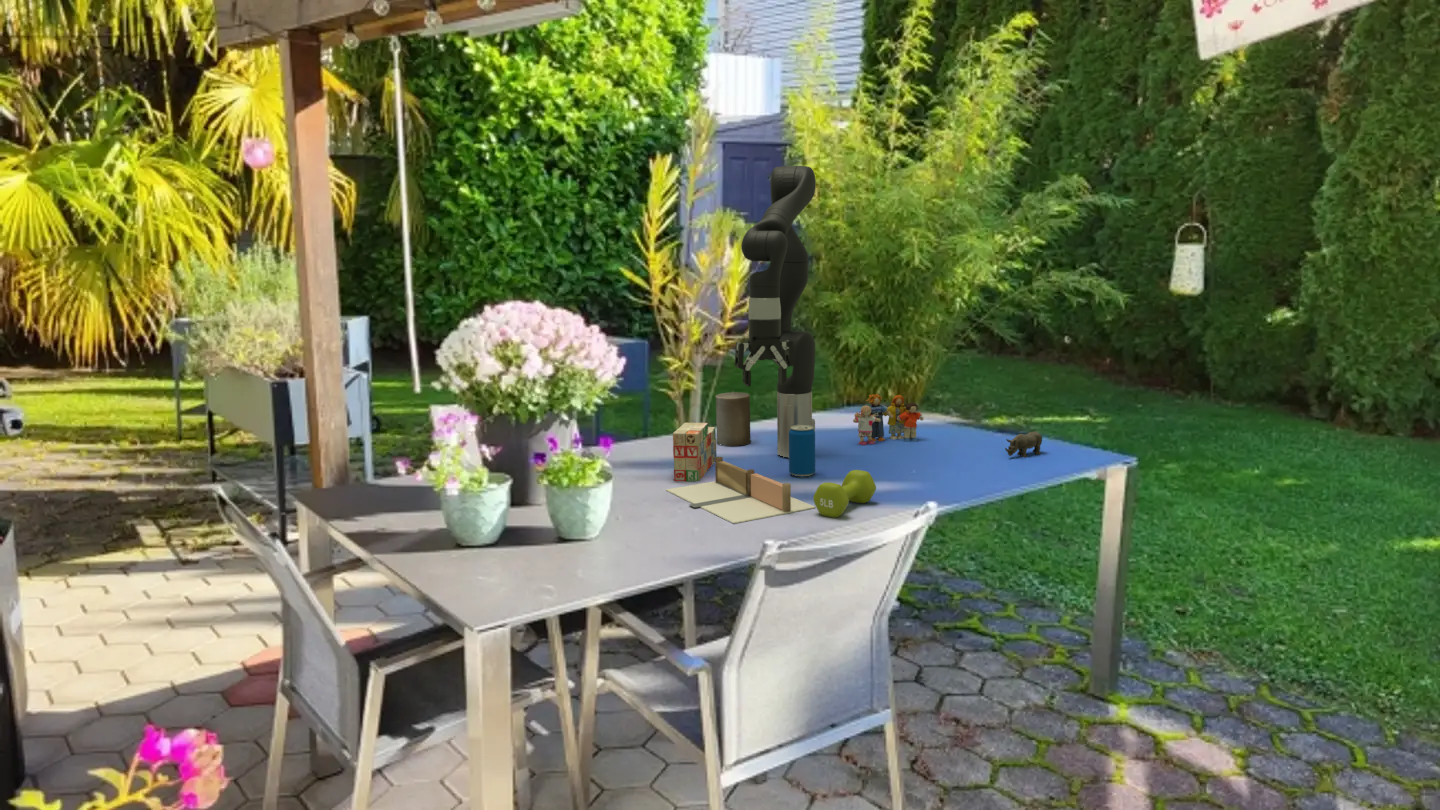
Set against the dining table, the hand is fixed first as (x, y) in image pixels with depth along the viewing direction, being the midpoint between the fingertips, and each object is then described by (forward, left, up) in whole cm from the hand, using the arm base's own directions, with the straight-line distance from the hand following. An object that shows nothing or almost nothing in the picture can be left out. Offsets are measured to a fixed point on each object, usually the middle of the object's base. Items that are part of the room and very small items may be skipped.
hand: (764, 385), depth 244 cm
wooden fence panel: (+10, +2, -23) cm, 25 cm away
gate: (+10, +18, -23) cm, 31 cm away
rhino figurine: (-70, +15, -24) cm, 76 cm away
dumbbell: (-3, +28, -24) cm, 37 cm away
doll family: (-52, -20, -24) cm, 61 cm away
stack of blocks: (+9, -19, -24) cm, 32 cm away
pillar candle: (-15, -41, -24) cm, 50 cm away
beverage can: (-11, -1, -24) cm, 26 cm away
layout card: (+13, +9, -24) cm, 29 cm away
